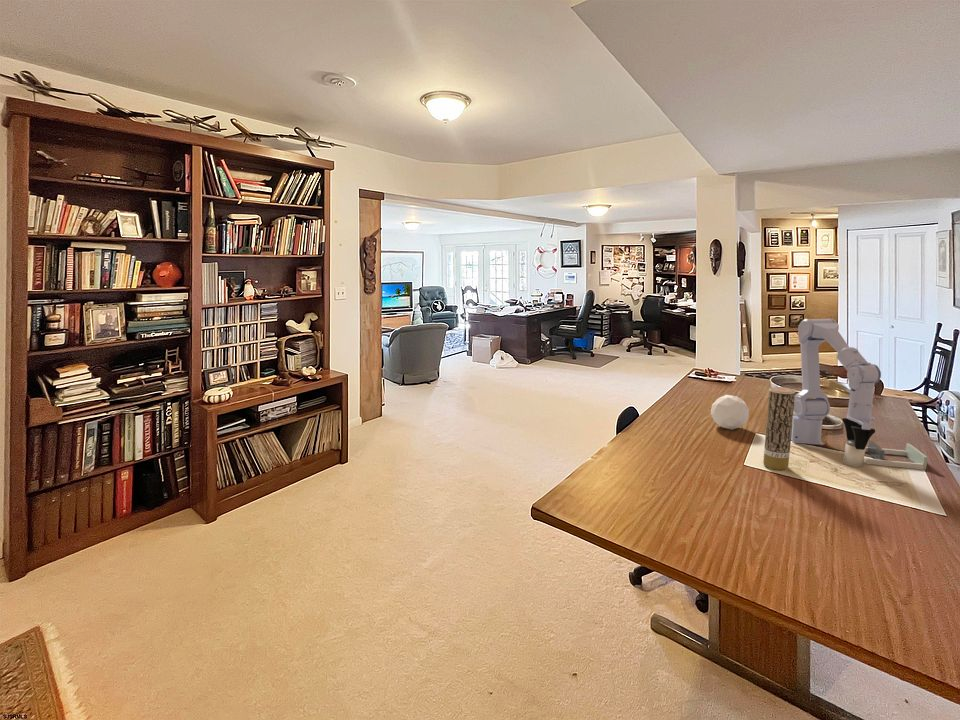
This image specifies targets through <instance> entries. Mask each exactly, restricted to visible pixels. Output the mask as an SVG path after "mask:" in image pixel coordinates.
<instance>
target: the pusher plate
mask: <svg viewBox="0 0 960 720" xmlns="http://www.w3.org/2000/svg"><path fill="white" fill-rule="evenodd" d="M867 445H868V446H867V447H868V452H867V453H868V454H870V456H871V457H873V459H879V460H884V456H885V454H884V450H883V449H884V448H883V449H882V447H880V445H878V443H876V442H875V441H874V440H870V439H869V440H868V444H867Z"/></svg>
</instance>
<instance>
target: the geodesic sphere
mask: <svg viewBox="0 0 960 720" xmlns="http://www.w3.org/2000/svg"><path fill="white" fill-rule="evenodd" d="M710 409H711V410H710V416H711V417H712V419H713V422H714V423H716V424H717V425H719V427H721V428H723V429H728V430H731V431H733V430H735V429H739V428H741V427H742V426H744V424H745V423H746V422H747V421H748V420H749V417H750V416H749V414H750V408H749V407H748V405H747V404H746V401H744V400H743V399H742V398H740V397H739V396H735V395H733V394H729V393H724V395H723V396H720V397H718V398H717V399H715V401H714V402H713V403H712V404H711V408H710Z"/></svg>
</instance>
